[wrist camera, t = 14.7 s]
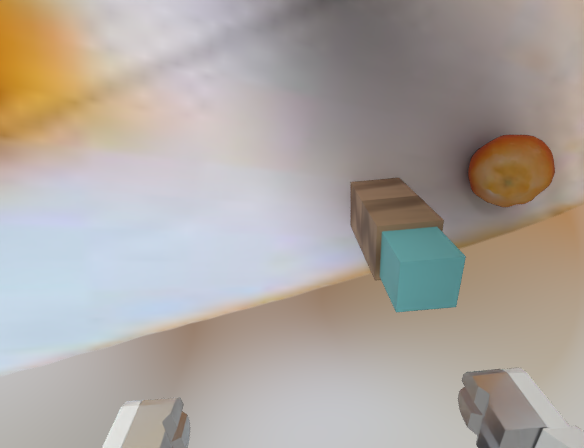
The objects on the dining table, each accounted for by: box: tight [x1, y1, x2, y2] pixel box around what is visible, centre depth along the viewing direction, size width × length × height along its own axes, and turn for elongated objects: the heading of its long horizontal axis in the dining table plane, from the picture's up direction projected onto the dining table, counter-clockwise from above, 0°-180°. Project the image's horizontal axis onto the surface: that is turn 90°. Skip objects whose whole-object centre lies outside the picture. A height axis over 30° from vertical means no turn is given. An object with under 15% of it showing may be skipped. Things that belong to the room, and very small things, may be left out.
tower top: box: [361, 196, 444, 280], centre depth 33 cm, size 6×6×6 cm
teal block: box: [380, 227, 466, 312], centre depth 28 cm, size 5×5×5 cm
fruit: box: [468, 135, 555, 207], centre depth 36 cm, size 8×8×8 cm
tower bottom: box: [351, 178, 418, 248], centre depth 38 cm, size 6×6×6 cm
